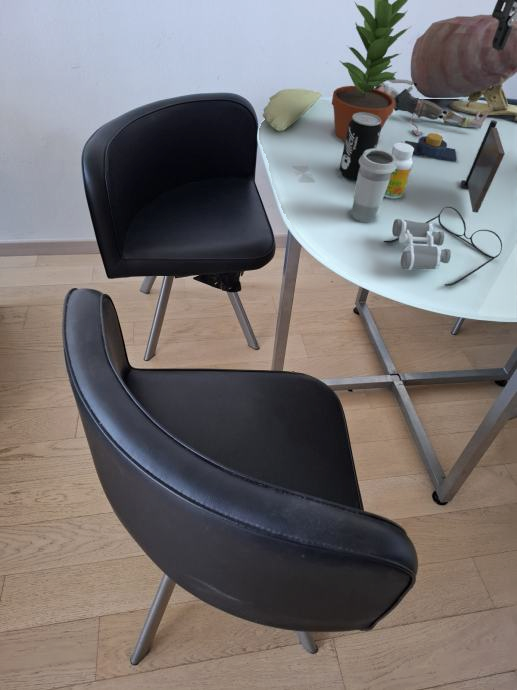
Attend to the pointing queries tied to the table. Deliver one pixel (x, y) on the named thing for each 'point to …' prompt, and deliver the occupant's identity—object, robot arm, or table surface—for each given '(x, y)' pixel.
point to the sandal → (494, 100)
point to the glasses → (464, 240)
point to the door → (485, 169)
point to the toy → (426, 107)
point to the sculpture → (462, 57)
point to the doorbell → (433, 150)
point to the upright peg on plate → (465, 183)
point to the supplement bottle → (400, 170)
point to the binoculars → (420, 254)
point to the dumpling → (289, 106)
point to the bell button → (433, 139)
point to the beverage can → (359, 142)
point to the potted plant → (369, 68)
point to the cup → (372, 183)
